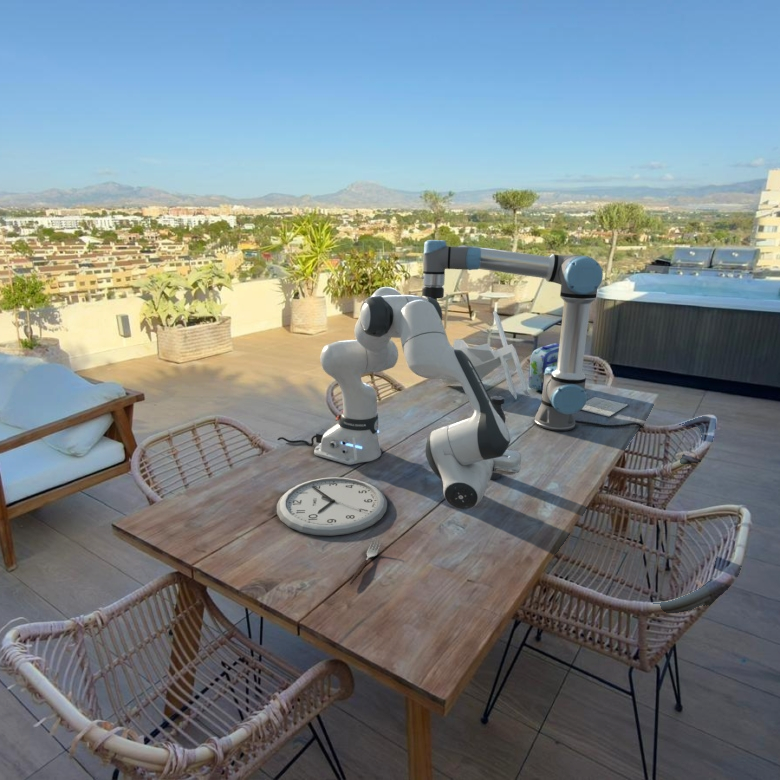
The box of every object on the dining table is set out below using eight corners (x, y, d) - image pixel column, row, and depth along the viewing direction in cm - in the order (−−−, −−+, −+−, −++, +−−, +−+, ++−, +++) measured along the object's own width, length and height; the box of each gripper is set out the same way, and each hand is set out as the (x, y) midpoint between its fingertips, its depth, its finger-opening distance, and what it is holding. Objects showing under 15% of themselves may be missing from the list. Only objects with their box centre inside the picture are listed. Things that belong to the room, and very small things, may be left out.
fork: (344, 585, 111) (344, 577, 110) (372, 544, 125) (372, 537, 125) (355, 588, 110) (355, 580, 109) (382, 546, 124) (382, 539, 124)
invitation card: (608, 416, 214) (573, 407, 224) (608, 416, 214) (573, 408, 224) (628, 404, 229) (594, 396, 238) (628, 405, 229) (594, 397, 238)
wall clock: (392, 527, 129) (268, 531, 127) (391, 533, 130) (269, 537, 127) (383, 473, 158) (282, 475, 155) (383, 478, 158) (282, 480, 156)
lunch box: (544, 395, 239) (549, 351, 233) (524, 390, 247) (528, 347, 240) (571, 384, 257) (577, 343, 251) (552, 380, 264) (556, 339, 258)
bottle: (479, 471, 164) (485, 396, 157) (497, 470, 165) (503, 395, 157) (485, 479, 159) (491, 402, 151) (502, 478, 160) (509, 401, 152)
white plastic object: (461, 429, 252) (437, 405, 227) (444, 352, 274) (420, 323, 250) (535, 404, 240) (518, 377, 215) (510, 326, 262) (492, 293, 237)
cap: (489, 401, 156) (489, 395, 156) (501, 400, 157) (501, 395, 156) (493, 405, 153) (493, 399, 152) (505, 404, 153) (506, 399, 153)
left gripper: (520, 461, 120) (525, 439, 133) (434, 448, 127) (447, 428, 139) (517, 485, 122) (523, 462, 135) (433, 471, 129) (446, 450, 141)
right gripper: (424, 282, 194) (422, 338, 201) (420, 289, 171) (418, 353, 177) (444, 282, 193) (442, 339, 200) (443, 290, 170) (440, 354, 176)
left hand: (484, 445), depth 137 cm, fingers open, 8 cm apart
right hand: (430, 345), depth 188 cm, fingers open, 13 cm apart
